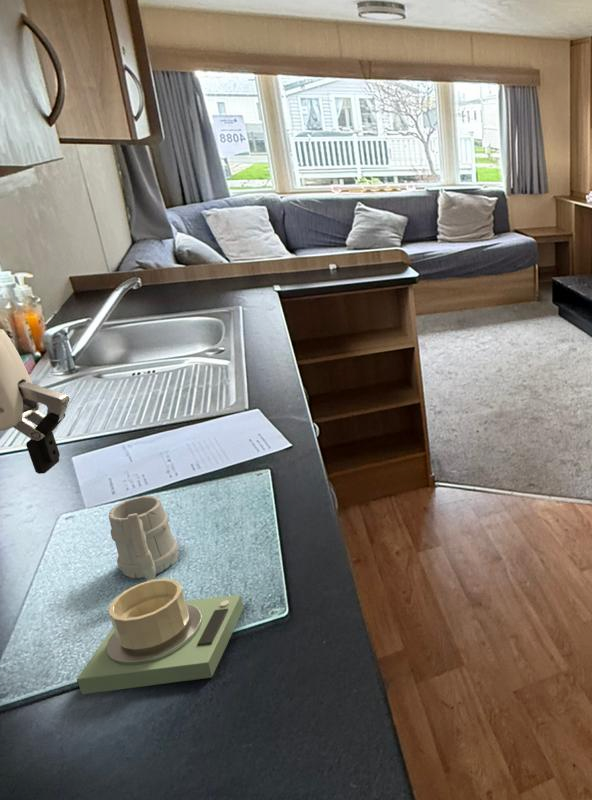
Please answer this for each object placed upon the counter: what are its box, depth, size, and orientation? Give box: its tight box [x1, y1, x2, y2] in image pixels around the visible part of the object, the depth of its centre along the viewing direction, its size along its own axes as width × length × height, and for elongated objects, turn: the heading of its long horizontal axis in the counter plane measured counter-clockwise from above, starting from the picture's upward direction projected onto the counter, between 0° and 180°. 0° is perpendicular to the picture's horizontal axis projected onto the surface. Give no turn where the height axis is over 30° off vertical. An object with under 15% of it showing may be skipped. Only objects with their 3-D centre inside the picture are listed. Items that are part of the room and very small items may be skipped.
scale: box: [76, 594, 245, 695], centre depth 82 cm, size 14×12×3 cm
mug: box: [108, 495, 180, 581], centre depth 94 cm, size 8×12×12 cm, turn 35°
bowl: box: [108, 577, 189, 650], centre depth 80 cm, size 7×7×5 cm
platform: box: [106, 603, 202, 665], centre depth 81 cm, size 10×10×1 cm
